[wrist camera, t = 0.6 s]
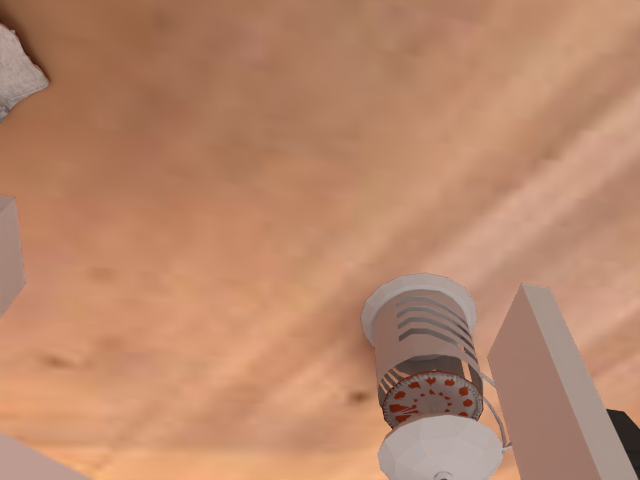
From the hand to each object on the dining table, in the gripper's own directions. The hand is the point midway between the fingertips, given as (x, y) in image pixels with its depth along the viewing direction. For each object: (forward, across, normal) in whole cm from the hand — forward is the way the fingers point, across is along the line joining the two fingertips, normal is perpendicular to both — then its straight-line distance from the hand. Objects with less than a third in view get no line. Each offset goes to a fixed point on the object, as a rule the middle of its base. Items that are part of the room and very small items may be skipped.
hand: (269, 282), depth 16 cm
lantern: (+26, +14, -22) cm, 37 cm away
